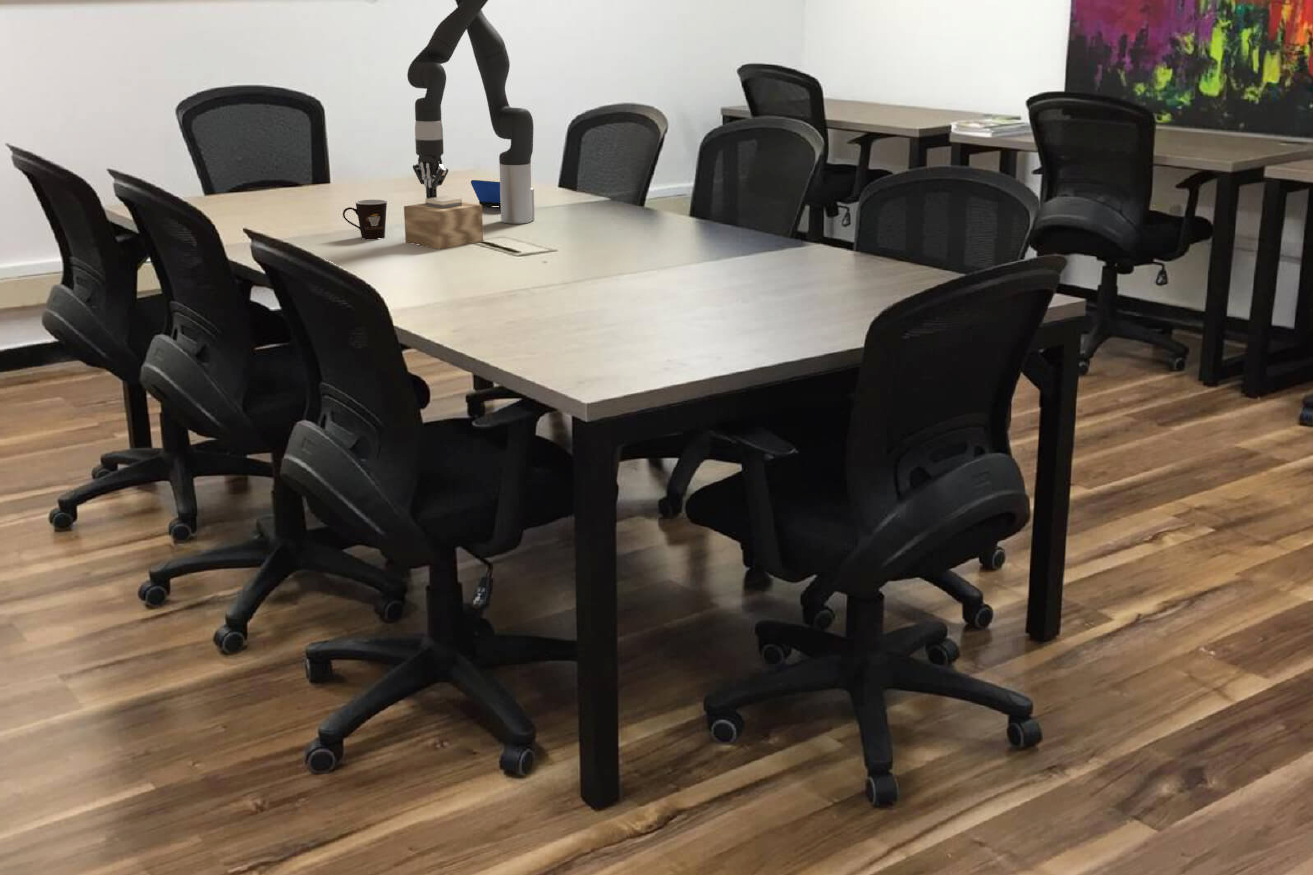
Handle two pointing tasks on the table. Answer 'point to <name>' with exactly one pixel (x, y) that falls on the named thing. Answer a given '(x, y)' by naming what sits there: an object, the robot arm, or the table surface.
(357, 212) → the coffee mug
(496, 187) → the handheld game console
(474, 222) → the oak block
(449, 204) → the coaster
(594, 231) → the table surface
